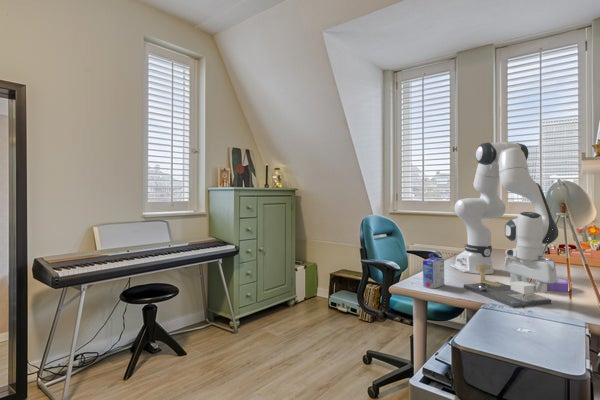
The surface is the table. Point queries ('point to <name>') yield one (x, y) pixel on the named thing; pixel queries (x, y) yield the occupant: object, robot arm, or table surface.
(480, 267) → the t key
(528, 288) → the cover lid
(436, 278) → the ink cartridge box
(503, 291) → the plate
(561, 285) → the masking tape
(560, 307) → the table surface
